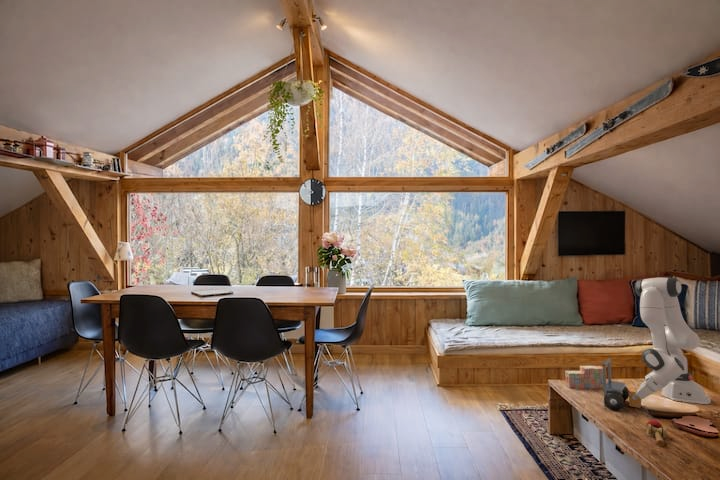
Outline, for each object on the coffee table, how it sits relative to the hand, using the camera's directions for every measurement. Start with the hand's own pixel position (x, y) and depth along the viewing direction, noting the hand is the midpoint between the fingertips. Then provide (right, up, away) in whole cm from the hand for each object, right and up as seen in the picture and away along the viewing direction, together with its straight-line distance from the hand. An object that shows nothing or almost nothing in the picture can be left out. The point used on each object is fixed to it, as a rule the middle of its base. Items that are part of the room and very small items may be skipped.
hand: (633, 396), depth 237 cm
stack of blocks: (-9, -6, +34) cm, 36 cm away
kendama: (-13, -6, -38) cm, 41 cm away
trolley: (-7, -6, +3) cm, 10 cm away
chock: (+1, -5, 0) cm, 5 cm away
